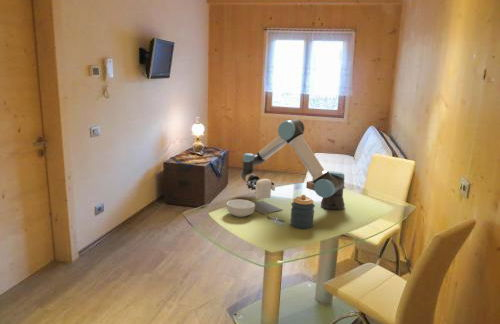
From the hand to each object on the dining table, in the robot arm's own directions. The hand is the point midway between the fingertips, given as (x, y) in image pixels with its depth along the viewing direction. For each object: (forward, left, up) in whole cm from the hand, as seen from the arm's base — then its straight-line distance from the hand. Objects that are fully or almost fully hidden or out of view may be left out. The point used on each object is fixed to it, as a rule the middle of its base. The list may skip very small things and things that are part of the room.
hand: (266, 189), depth 236 cm
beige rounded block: (+4, -1, -7) cm, 8 cm away
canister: (-30, -2, -14) cm, 33 cm away
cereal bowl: (+1, +18, -14) cm, 23 cm away
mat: (+4, -1, -13) cm, 14 cm away
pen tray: (+19, -74, -13) cm, 78 cm away
